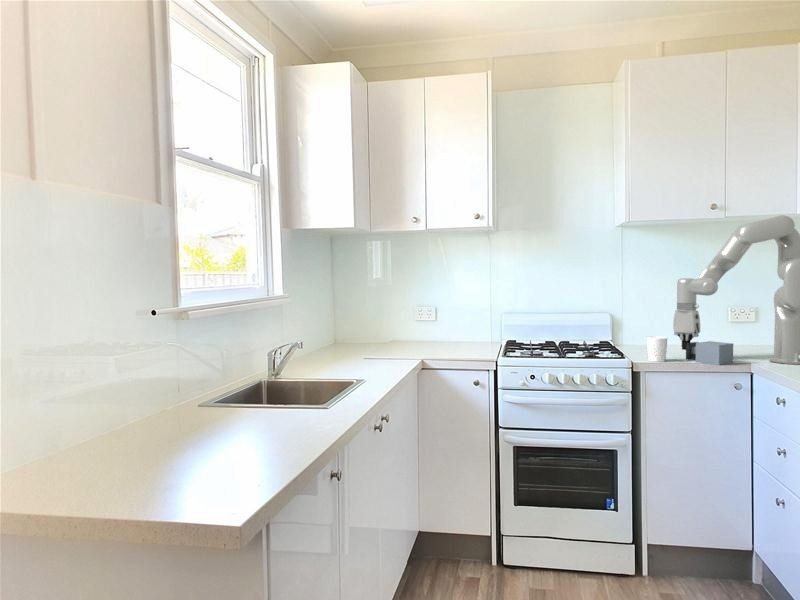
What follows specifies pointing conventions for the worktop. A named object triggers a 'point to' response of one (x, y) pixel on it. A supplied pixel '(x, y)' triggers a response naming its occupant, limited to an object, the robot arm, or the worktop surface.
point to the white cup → (657, 348)
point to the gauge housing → (714, 353)
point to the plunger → (691, 350)
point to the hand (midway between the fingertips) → (685, 349)
